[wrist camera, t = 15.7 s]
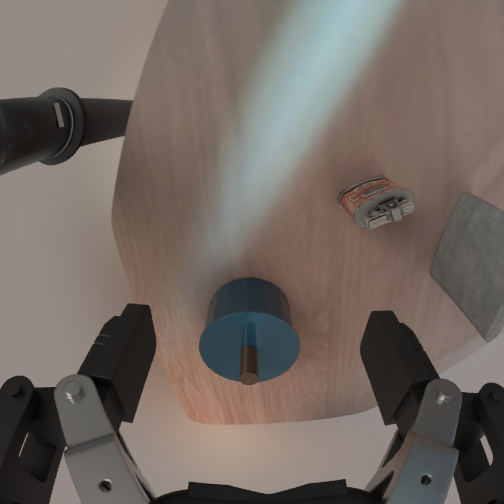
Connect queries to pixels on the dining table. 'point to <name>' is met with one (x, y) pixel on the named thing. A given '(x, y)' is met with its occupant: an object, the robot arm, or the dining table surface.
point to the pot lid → (249, 345)
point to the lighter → (376, 202)
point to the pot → (249, 299)
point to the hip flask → (474, 263)
